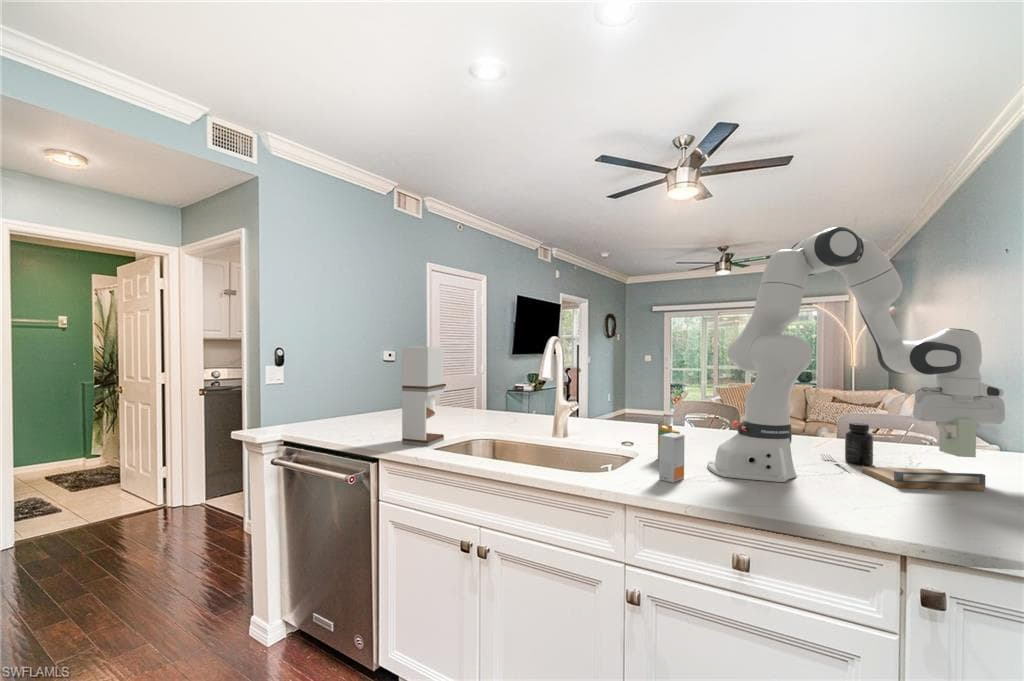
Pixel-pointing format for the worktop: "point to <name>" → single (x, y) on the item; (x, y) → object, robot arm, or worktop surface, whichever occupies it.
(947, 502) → the worktop surface
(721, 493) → the worktop surface
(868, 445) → the supplement bottle
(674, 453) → the skincare box
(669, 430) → the crayon box
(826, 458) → the fork
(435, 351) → the coffee grinder
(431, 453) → the worktop surface
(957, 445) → the carton
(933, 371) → the robot arm
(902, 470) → the shelf board
